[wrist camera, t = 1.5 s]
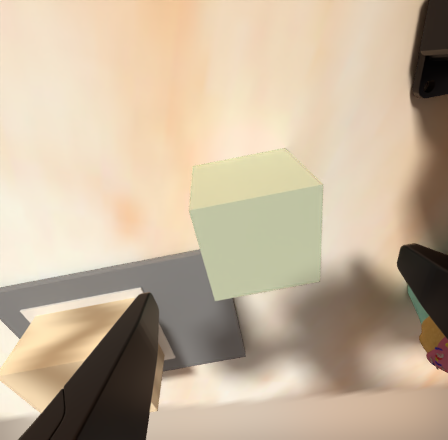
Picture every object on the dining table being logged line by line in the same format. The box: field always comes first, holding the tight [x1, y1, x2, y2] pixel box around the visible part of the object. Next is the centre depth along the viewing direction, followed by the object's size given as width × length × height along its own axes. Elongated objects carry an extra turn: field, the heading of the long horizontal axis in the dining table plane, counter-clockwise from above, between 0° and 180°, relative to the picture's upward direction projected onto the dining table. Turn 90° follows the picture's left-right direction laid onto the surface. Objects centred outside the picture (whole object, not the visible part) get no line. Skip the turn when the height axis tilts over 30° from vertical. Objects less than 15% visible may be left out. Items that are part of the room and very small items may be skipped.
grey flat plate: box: [0, 250, 246, 371], centre depth 19 cm, size 16×12×1 cm
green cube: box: [189, 148, 323, 301], centre depth 13 cm, size 5×5×5 cm
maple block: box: [0, 298, 165, 413], centre depth 17 cm, size 7×7×4 cm
